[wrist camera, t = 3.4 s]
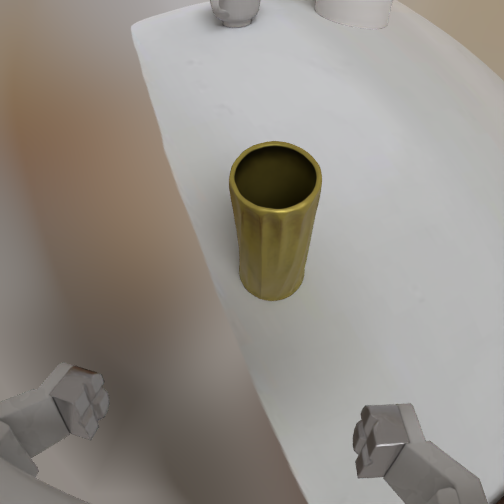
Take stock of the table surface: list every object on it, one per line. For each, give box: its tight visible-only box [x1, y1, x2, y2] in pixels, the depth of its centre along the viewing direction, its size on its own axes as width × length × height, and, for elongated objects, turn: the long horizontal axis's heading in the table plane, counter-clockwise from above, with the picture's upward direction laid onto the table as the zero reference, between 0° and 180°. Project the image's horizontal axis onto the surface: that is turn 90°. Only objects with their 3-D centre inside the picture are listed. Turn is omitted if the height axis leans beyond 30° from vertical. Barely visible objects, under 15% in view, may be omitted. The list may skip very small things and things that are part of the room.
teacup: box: [210, 0, 260, 28], centre depth 48 cm, size 12×15×10 cm
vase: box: [229, 141, 322, 301], centre depth 24 cm, size 6×6×14 cm
